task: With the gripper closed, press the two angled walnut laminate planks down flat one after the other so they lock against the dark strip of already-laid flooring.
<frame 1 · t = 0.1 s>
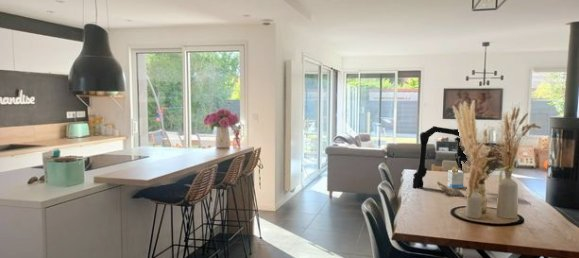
hand: (460, 169, 282), 15 cm above the table, tool pointing down, fingers open, 9 cm apart
laid floor: (456, 193, 273), on the table
plank rear: (444, 186, 280), point 3 cm above the table, hinge at 30.0°
ink box: (455, 187, 292), on the table
plank front: (446, 190, 269), point 3 cm above the table, hinge at 30.0°
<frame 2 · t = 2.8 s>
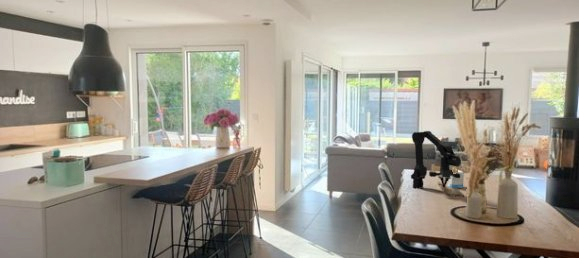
hand: (443, 187, 269), 5 cm above the table, tool pointing down, fingers closed
plank front: (446, 190, 269), point 3 cm above the table, hinge at 30.0°, touching gripper
everything else where it was.
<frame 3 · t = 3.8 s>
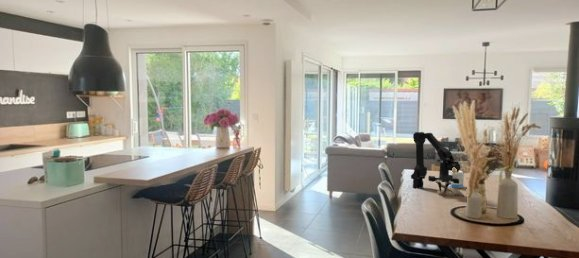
hand: (442, 192, 269), 1 cm above the table, tool pointing down, fingers closed on plank front, 2 cm apart
plank front: (444, 192, 270), point 1 cm above the table, hinge at 2.2°, touching gripper
everything else where it was.
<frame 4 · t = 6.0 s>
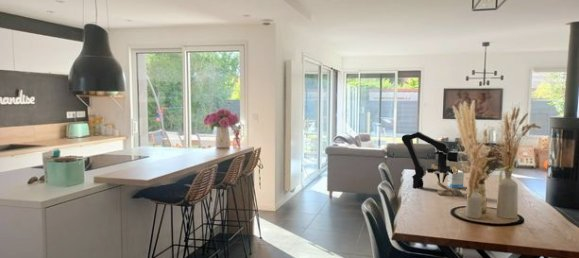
hand: (441, 183, 280), 5 cm above the table, tool pointing down, fingers closed
plank rear: (444, 186, 280), point 3 cm above the table, hinge at 29.7°, touching gripper
plank front: (444, 193, 270), point 1 cm above the table, hinge at 1.7°
everything else where it was.
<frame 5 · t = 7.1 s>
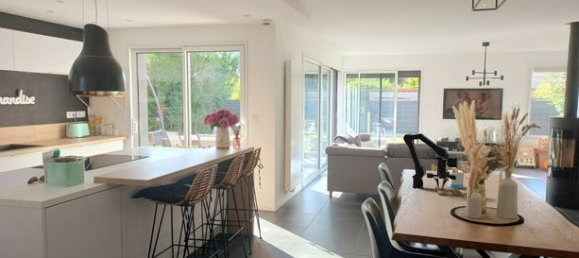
hand: (440, 188, 281), 1 cm above the table, tool pointing down, fingers closed on plank rear, 2 cm apart
plank rear: (442, 189, 280), point 1 cm above the table, hinge at 0.3°, touching gripper
everything else where it was.
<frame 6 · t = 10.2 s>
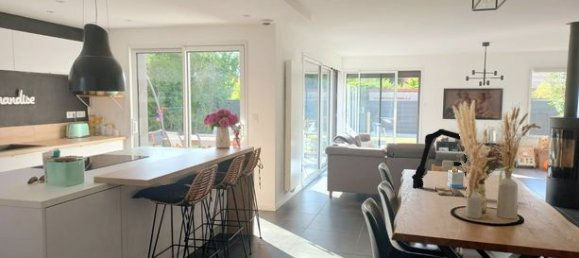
hand: (467, 177, 268), 12 cm above the table, tool pointing down, fingers closed
plank rear: (442, 189, 280), point 1 cm above the table, hinge at 0.2°
everything else where it was.
at the end: plank front at +2° (first picture: +30°); plank rear at +0° (first picture: +30°) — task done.
